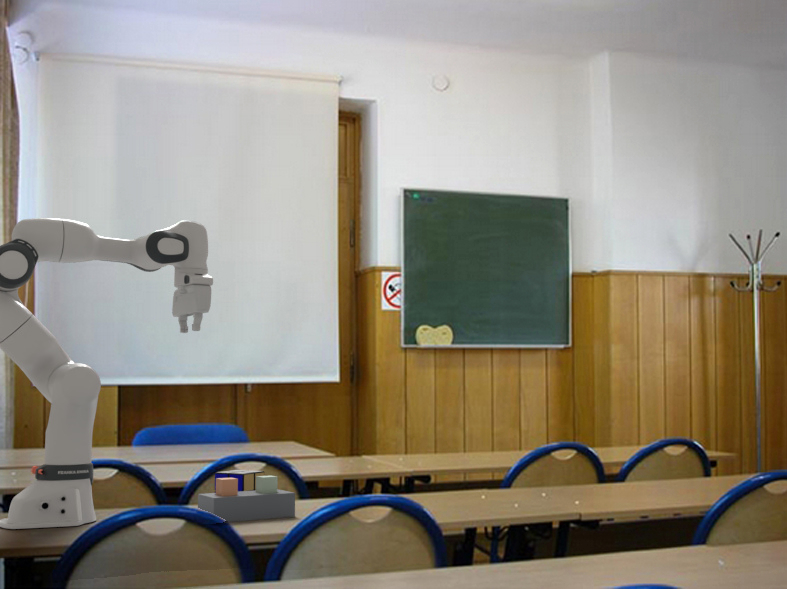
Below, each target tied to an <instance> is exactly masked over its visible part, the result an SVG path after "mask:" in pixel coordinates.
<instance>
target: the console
mask: <svg viewBox="0 0 787 589" xmlns="http://www.w3.org/2000/svg"><path fill="white" fill-rule="evenodd" d="M198 508H200V509H202V510H205V511H208V512H211V513H213V514H215V515H217V516H219V517H221V518H223V519H225V520H226V521H228V522H227V523H230V522H232V523H233V522H243V521H244V522H245V521H256V520H257V521H258V520H269V519H270V520H271V519H281V518H291V517H293V518H294V517H296V492H294V491H293V492H292V491H287V490H284V489H277V493H263V494H261V493H257V492H256V490H254V491H238V495H232V496H218V495H216V493H215V492H211V493H210V492H207V493H198V494H197V509H198Z"/></svg>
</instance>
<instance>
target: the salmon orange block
mask: <svg viewBox="0 0 787 589" xmlns="http://www.w3.org/2000/svg"><path fill="white" fill-rule="evenodd" d="M216 495H218V496H232V495H238V479H236V478H216Z"/></svg>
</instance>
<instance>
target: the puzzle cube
mask: <svg viewBox="0 0 787 589" xmlns="http://www.w3.org/2000/svg"><path fill="white" fill-rule="evenodd" d="M265 473H266V472H265V471H264V470H252V469H251V470H248V469H233V470H231V469H230V470H226V471H216V472H215V473H214V490H215V491H214V493H216V478H236V479H238V491H254V490H256V476H266V475H265Z"/></svg>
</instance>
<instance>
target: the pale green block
mask: <svg viewBox="0 0 787 589" xmlns="http://www.w3.org/2000/svg"><path fill="white" fill-rule="evenodd" d="M278 477H279V476H277V475H276V476H275V475H265V476H256V492H257V493H261V494H263V493H277V489H278V485H279V484H278V481H279V480H278V479H279V478H278Z"/></svg>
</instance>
